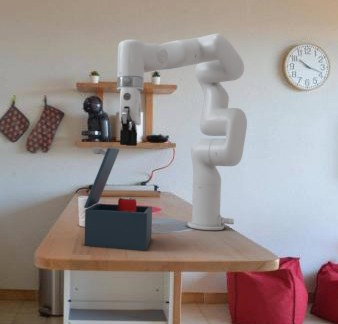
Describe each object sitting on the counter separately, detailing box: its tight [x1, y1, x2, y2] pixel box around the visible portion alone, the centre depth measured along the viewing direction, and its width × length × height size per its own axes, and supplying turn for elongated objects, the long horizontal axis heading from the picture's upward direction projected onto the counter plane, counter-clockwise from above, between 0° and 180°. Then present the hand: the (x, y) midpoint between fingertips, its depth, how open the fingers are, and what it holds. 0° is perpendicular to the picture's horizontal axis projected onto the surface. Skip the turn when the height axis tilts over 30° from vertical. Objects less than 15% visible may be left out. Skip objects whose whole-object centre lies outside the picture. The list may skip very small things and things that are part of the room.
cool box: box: [83, 203, 153, 252], centre depth 112 cm, size 17×14×10 cm
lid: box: [84, 146, 121, 208], centre depth 114 cm, size 18×14×6 cm
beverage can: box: [117, 196, 137, 212], centre depth 112 cm, size 5×5×12 cm
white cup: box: [77, 195, 101, 228], centre depth 137 cm, size 8×8×10 cm
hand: (128, 145), depth 111 cm, fingers open, 9 cm apart
